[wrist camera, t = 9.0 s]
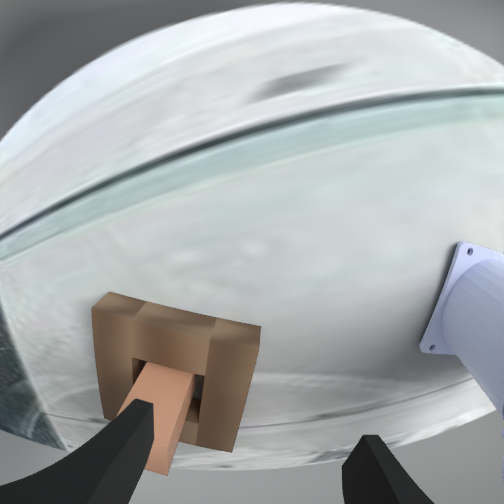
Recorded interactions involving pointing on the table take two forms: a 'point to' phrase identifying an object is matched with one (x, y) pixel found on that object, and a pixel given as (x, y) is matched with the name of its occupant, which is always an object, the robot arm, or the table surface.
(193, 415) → the socket
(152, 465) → the peg
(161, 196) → the table surface
